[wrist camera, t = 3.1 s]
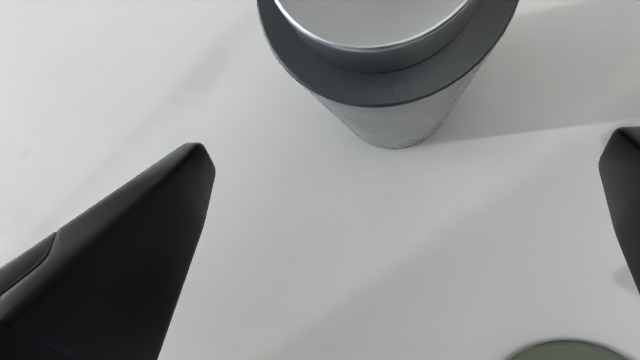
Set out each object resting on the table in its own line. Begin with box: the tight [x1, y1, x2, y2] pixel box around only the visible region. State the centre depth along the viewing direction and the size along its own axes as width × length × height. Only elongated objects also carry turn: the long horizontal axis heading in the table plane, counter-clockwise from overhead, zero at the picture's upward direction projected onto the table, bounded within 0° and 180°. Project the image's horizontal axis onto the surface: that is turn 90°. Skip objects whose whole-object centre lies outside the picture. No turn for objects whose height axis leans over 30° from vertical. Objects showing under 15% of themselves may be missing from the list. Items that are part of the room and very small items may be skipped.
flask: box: [257, 0, 519, 149], centre depth 12 cm, size 6×6×13 cm
